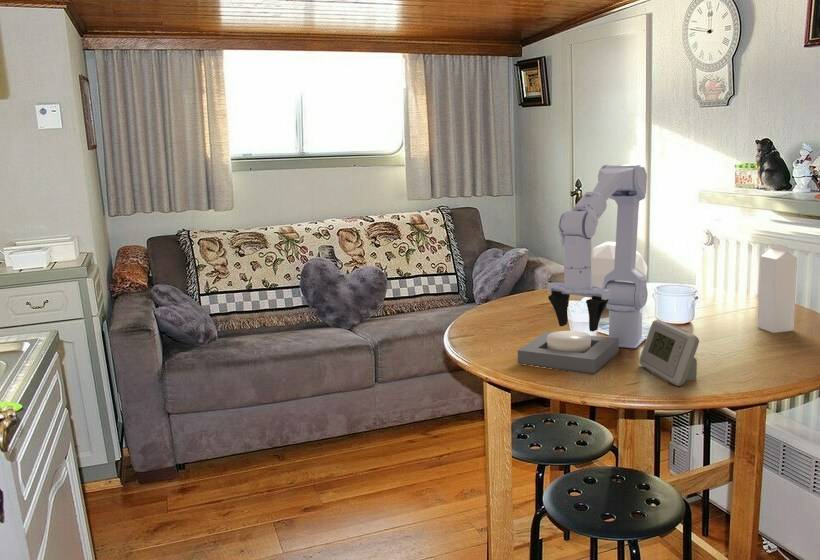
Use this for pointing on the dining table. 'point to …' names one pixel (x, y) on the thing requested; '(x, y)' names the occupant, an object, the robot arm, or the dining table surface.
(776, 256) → the milk
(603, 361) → the button housing
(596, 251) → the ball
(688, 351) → the digital clock
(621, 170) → the robot arm
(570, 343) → the button cap
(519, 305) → the dining table surface
